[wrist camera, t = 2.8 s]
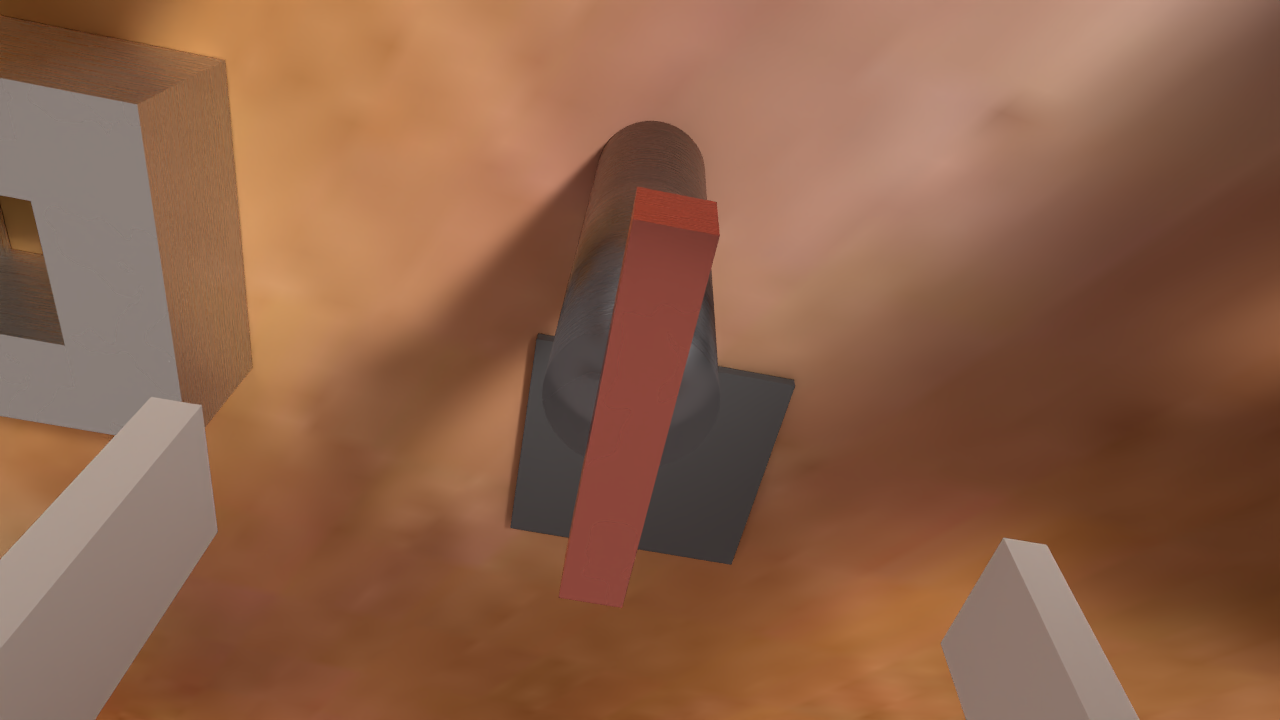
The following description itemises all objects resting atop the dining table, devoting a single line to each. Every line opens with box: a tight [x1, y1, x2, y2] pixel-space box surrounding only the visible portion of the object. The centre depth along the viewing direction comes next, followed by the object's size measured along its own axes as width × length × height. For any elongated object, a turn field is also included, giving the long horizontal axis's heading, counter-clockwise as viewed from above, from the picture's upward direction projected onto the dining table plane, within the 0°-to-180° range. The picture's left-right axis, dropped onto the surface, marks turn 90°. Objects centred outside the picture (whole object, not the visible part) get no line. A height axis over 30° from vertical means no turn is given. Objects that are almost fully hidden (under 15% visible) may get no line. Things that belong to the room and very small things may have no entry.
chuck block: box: [0, 16, 252, 435], centre depth 27 cm, size 12×12×5 cm
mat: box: [511, 333, 795, 565], centre depth 34 cm, size 10×10×1 cm
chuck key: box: [542, 121, 720, 608], centre depth 21 cm, size 9×4×14 cm, turn 169°
